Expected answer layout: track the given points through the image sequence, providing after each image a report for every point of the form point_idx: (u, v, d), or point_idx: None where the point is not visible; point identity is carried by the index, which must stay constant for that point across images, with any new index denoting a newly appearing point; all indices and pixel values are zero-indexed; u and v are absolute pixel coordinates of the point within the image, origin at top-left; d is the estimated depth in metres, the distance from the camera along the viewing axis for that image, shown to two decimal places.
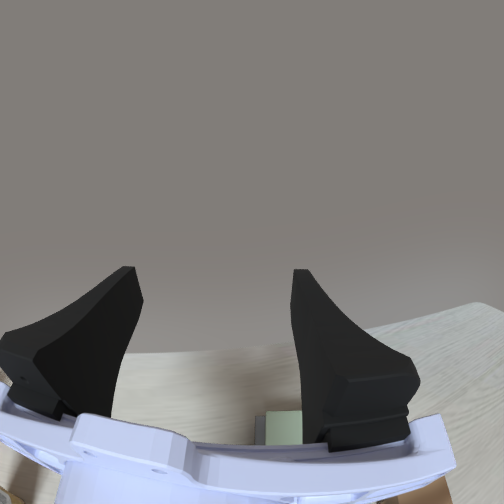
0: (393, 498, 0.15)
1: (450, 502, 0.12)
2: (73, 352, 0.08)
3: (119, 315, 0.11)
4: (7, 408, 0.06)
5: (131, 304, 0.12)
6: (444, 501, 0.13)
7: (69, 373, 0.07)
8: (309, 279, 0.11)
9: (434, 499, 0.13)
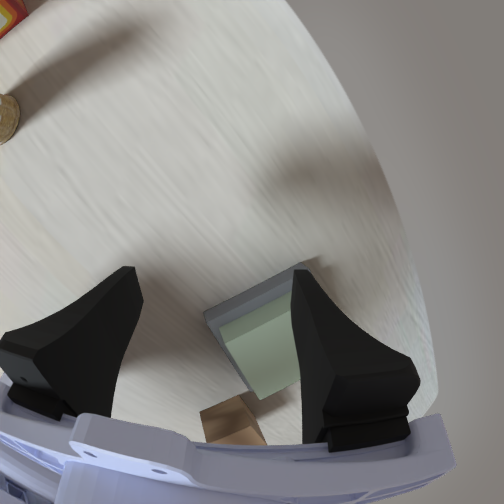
0: (244, 421, 0.26)
1: None
2: (73, 352, 0.08)
3: (119, 315, 0.11)
4: (7, 408, 0.06)
5: (131, 304, 0.12)
6: None
7: (69, 373, 0.07)
8: (309, 279, 0.11)
9: None
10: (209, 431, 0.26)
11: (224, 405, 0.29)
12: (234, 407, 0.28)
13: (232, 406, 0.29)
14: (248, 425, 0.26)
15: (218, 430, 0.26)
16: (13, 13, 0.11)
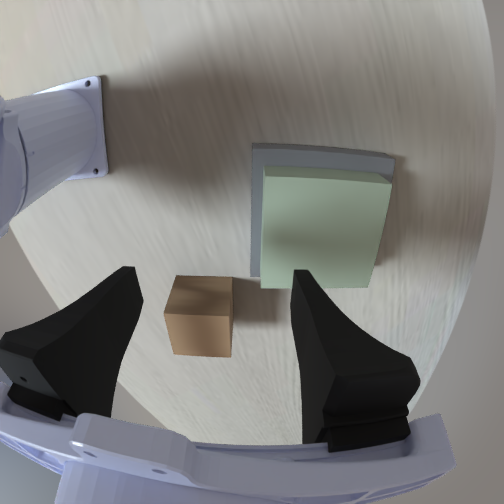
0: (223, 308, 0.22)
1: (196, 354, 0.24)
2: (73, 352, 0.08)
3: (119, 315, 0.11)
4: (7, 408, 0.06)
5: (131, 304, 0.12)
6: (198, 350, 0.24)
7: (69, 373, 0.07)
8: (309, 279, 0.11)
9: (205, 344, 0.23)
10: (175, 300, 0.23)
11: (209, 281, 0.25)
12: (219, 288, 0.24)
13: (218, 285, 0.25)
14: (226, 314, 0.22)
15: (186, 304, 0.22)
16: None
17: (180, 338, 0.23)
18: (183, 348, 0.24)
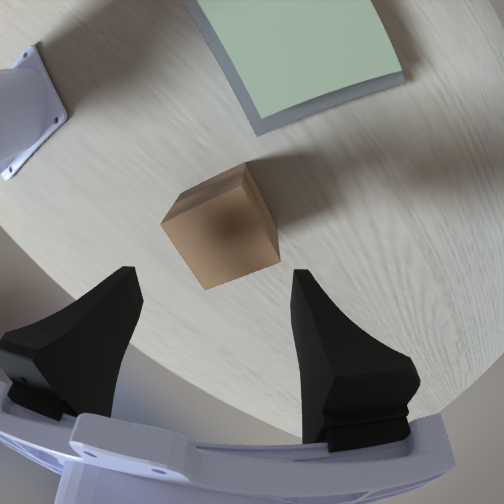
0: (234, 183, 0.15)
1: (233, 277, 0.18)
2: (73, 352, 0.08)
3: (119, 315, 0.11)
4: (7, 408, 0.06)
5: (131, 304, 0.12)
6: (232, 268, 0.17)
7: (69, 373, 0.07)
8: (309, 279, 0.11)
9: (234, 252, 0.17)
10: (175, 208, 0.17)
11: (218, 177, 0.19)
12: (230, 174, 0.18)
13: (228, 174, 0.18)
14: (238, 185, 0.15)
15: (188, 203, 0.16)
16: None
17: (199, 257, 0.17)
18: (211, 273, 0.17)
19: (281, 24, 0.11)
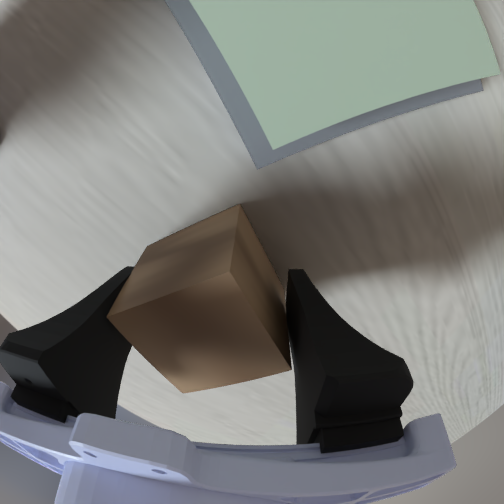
0: (219, 260, 0.09)
1: (222, 382, 0.11)
2: (78, 353, 0.08)
3: None
4: (7, 408, 0.06)
5: None
6: (219, 375, 0.11)
7: (74, 374, 0.07)
8: (304, 279, 0.11)
9: (222, 358, 0.10)
10: (131, 285, 0.11)
11: (197, 228, 0.12)
12: (215, 229, 0.11)
13: (213, 227, 0.12)
14: (224, 269, 0.08)
15: (148, 284, 0.10)
16: None
17: (170, 361, 0.10)
18: (189, 378, 0.11)
19: None
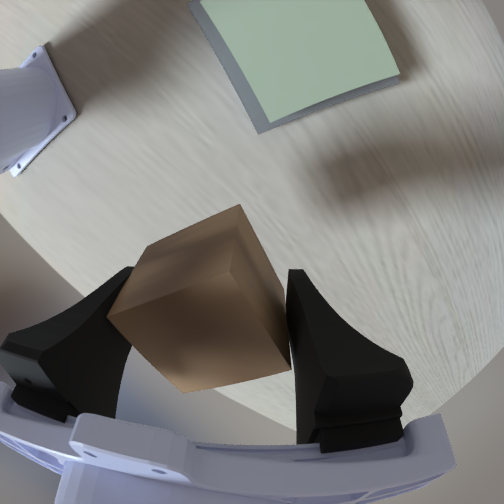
0: (219, 260, 0.09)
1: (222, 382, 0.11)
2: (78, 353, 0.08)
3: None
4: (7, 408, 0.06)
5: None
6: (219, 375, 0.11)
7: (74, 374, 0.07)
8: (303, 279, 0.11)
9: (222, 358, 0.10)
10: (131, 285, 0.11)
11: (197, 228, 0.12)
12: (215, 229, 0.11)
13: (213, 227, 0.12)
14: (224, 269, 0.08)
15: (148, 284, 0.10)
16: None
17: (169, 361, 0.10)
18: (189, 378, 0.11)
19: (286, 33, 0.12)
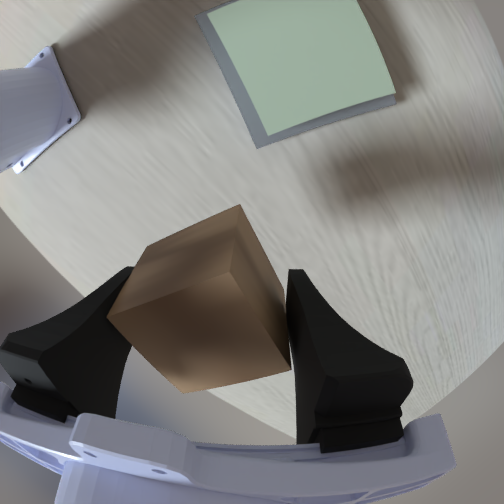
0: (219, 260, 0.09)
1: (222, 382, 0.11)
2: (78, 353, 0.08)
3: None
4: (7, 408, 0.06)
5: None
6: (219, 375, 0.11)
7: (74, 374, 0.07)
8: (304, 279, 0.11)
9: (222, 358, 0.10)
10: (131, 286, 0.11)
11: (197, 229, 0.12)
12: (215, 229, 0.11)
13: (213, 227, 0.12)
14: (224, 269, 0.08)
15: (148, 284, 0.10)
16: None
17: (170, 361, 0.10)
18: (189, 378, 0.11)
19: (288, 49, 0.13)
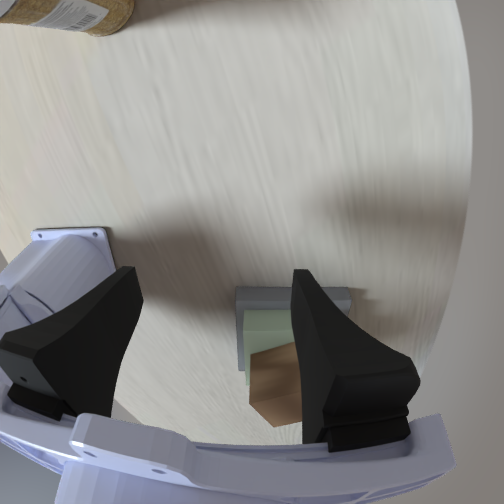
0: None
1: (295, 420, 0.22)
2: (73, 352, 0.08)
3: (119, 315, 0.11)
4: (7, 408, 0.06)
5: (131, 304, 0.12)
6: (296, 418, 0.21)
7: (69, 373, 0.07)
8: (309, 279, 0.11)
9: (300, 413, 0.21)
10: (256, 385, 0.21)
11: (284, 351, 0.23)
12: None
13: (295, 354, 0.22)
14: None
15: (269, 386, 0.21)
16: None
17: (274, 415, 0.21)
18: (280, 421, 0.22)
19: None
